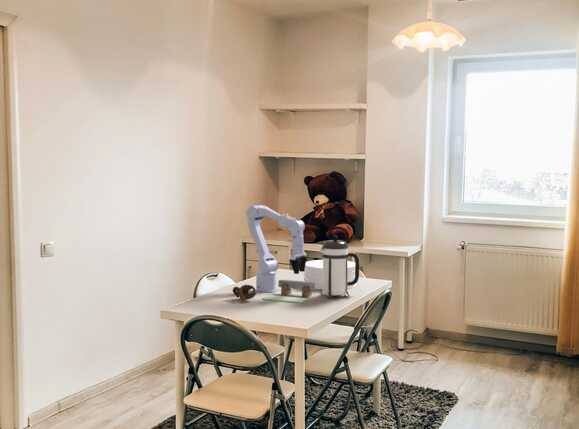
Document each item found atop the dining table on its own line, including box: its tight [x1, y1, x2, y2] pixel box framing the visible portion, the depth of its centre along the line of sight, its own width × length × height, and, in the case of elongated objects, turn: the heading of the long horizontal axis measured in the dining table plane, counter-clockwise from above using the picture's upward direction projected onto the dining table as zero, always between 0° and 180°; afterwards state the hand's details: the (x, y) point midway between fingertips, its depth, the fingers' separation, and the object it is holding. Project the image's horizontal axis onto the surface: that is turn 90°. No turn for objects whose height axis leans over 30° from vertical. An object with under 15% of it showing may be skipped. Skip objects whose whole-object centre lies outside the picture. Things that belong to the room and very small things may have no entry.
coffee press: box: [319, 234, 360, 300], centre depth 307 cm, size 17×16×30 cm
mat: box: [262, 294, 309, 304], centre depth 299 cm, size 20×8×1 cm, turn 67°
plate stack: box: [303, 259, 358, 291], centre depth 335 cm, size 28×28×12 cm
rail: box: [277, 279, 316, 291], centre depth 309 cm, size 18×3×3 cm, turn 67°
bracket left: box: [280, 285, 292, 296], centre depth 312 cm, size 3×6×5 cm, turn 158°
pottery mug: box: [232, 284, 258, 303], centre depth 298 cm, size 12×10×8 cm
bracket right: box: [301, 286, 313, 298], centre depth 307 cm, size 3×6×5 cm, turn 157°
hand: (299, 272), depth 308 cm, fingers open, 7 cm apart
